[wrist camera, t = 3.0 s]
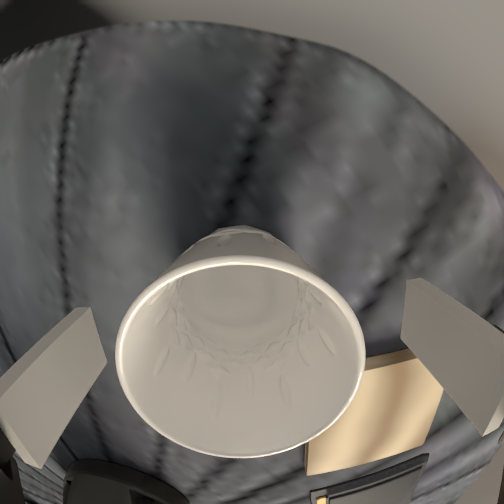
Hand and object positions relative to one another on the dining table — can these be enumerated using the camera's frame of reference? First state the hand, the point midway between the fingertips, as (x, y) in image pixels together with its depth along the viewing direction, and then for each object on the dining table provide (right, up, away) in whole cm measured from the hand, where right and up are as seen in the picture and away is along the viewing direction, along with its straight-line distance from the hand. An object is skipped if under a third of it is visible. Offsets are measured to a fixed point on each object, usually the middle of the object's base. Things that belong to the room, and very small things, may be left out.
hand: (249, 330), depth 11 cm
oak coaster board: (+10, -10, +10) cm, 18 cm away
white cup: (-1, +1, +7) cm, 7 cm away
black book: (+15, -30, +16) cm, 37 cm away
